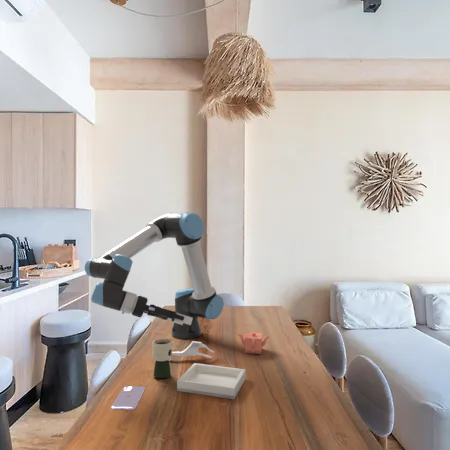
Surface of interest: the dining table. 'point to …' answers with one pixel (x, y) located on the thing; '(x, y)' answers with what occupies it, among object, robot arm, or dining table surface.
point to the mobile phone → (128, 398)
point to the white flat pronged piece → (193, 350)
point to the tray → (212, 380)
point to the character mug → (162, 357)
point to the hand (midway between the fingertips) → (187, 321)
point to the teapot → (253, 342)
